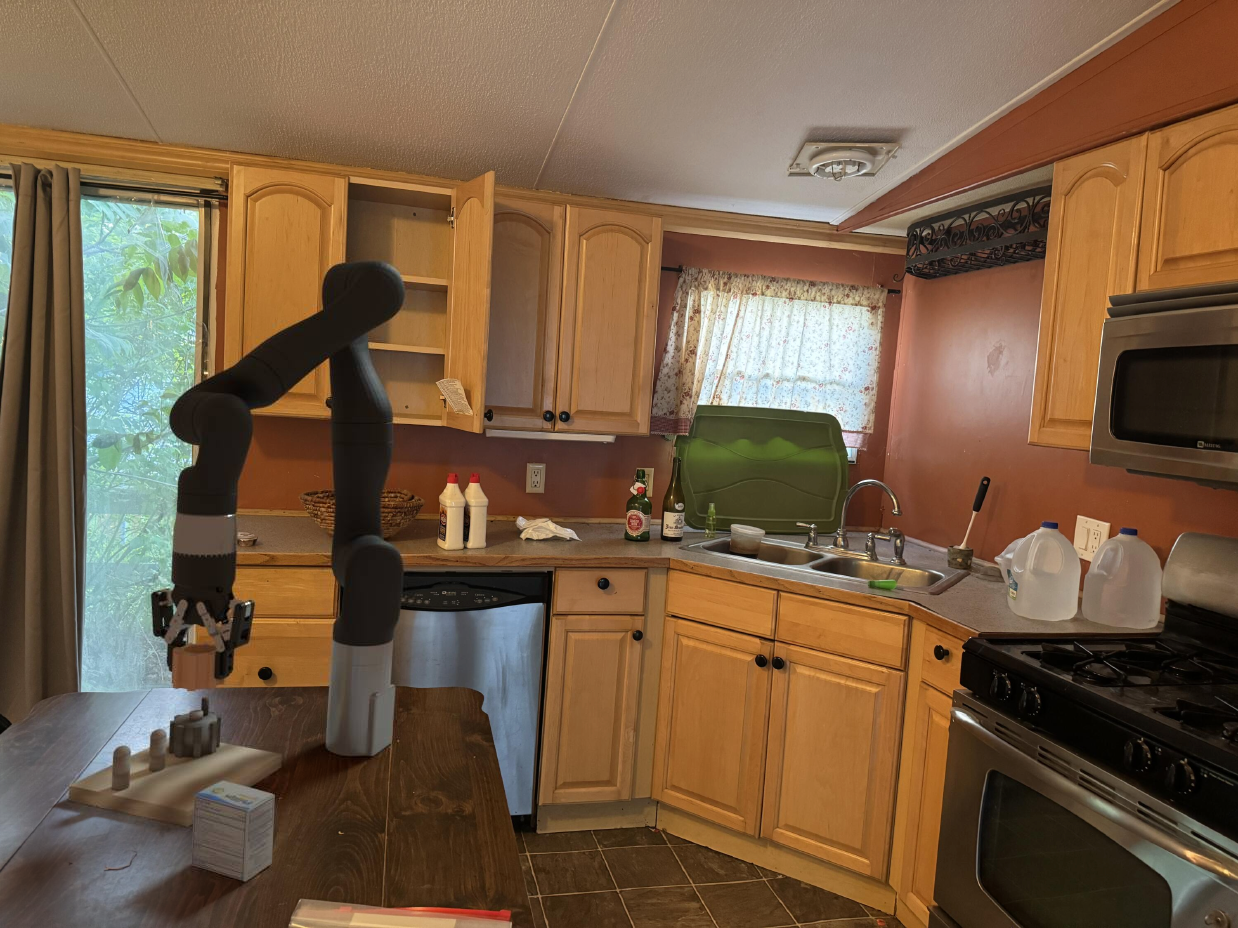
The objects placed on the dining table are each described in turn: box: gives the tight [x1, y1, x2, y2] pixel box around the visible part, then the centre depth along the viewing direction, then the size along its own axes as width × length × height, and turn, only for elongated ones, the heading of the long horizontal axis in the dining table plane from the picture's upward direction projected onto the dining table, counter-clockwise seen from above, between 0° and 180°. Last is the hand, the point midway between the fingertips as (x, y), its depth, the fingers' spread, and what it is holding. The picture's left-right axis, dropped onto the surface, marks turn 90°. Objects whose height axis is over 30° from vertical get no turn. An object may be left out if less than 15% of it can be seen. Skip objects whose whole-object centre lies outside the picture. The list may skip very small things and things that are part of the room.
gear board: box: [68, 696, 283, 827], centre depth 117 cm, size 18×19×9 cm
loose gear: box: [171, 641, 227, 692], centre depth 111 cm, size 6×6×4 cm
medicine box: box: [190, 781, 276, 882], centre depth 98 cm, size 8×4×9 cm, turn 71°
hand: (199, 673), depth 111 cm, fingers closed on loose gear, 6 cm apart
